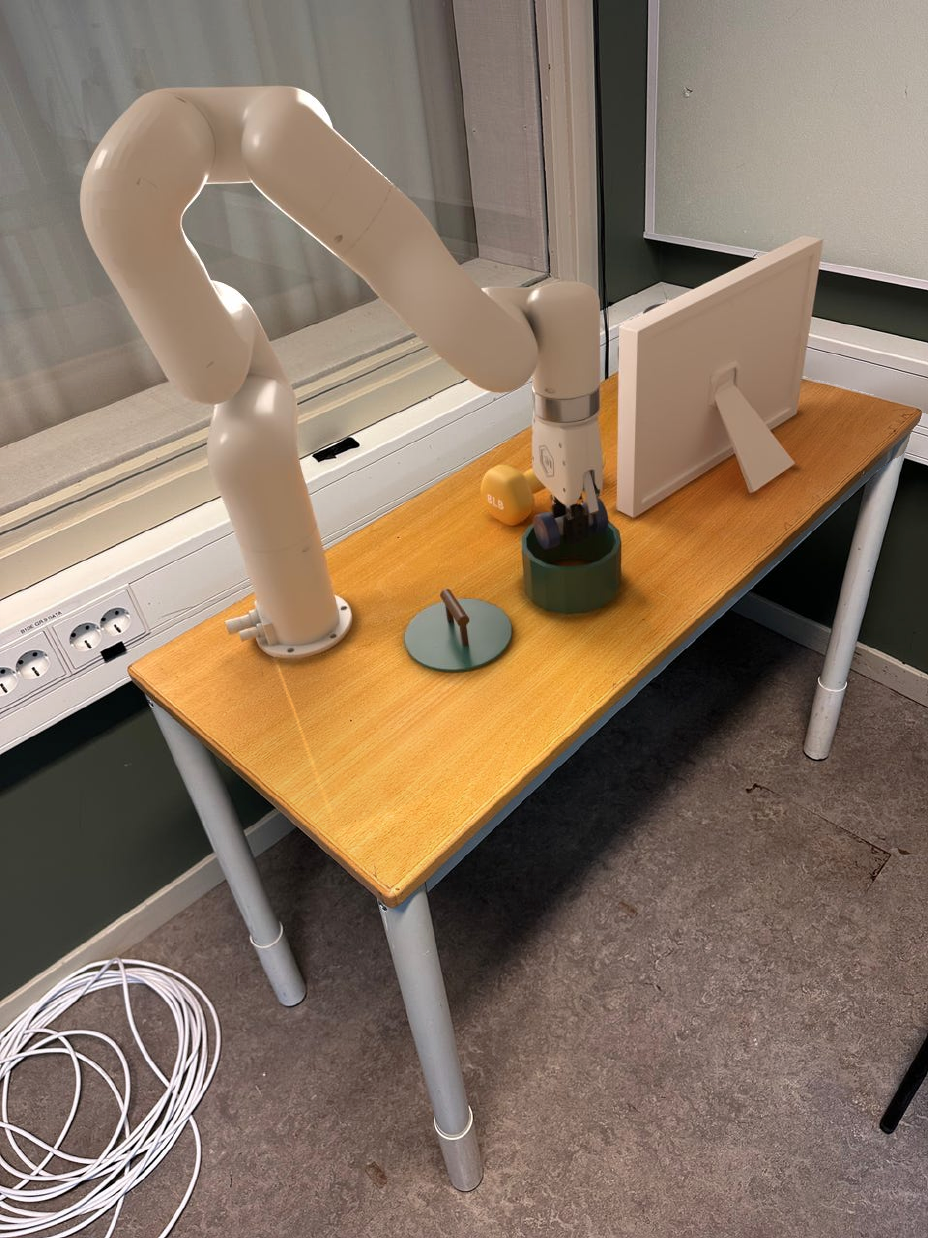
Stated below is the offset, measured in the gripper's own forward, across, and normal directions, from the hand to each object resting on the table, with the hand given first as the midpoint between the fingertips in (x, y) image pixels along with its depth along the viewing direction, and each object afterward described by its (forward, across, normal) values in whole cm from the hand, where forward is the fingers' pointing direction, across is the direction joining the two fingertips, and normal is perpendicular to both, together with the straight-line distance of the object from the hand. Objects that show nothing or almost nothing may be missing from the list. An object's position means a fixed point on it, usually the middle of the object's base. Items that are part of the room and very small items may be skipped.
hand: (570, 533), depth 111 cm
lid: (+8, +2, -17) cm, 19 cm away
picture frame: (+9, -13, +35) cm, 38 cm away
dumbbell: (+9, -21, +6) cm, 23 cm away
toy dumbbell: (+1, 0, 0) cm, 1 cm away
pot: (+8, 0, 0) cm, 8 cm away
